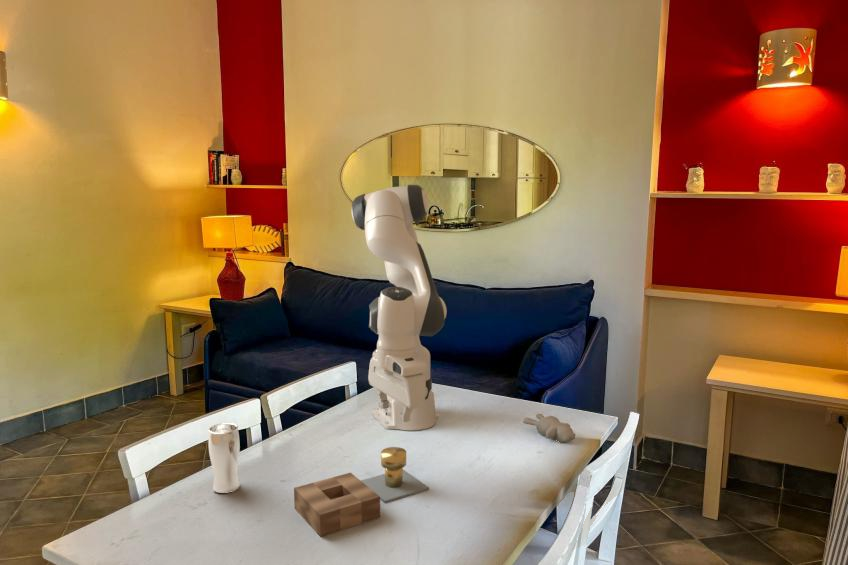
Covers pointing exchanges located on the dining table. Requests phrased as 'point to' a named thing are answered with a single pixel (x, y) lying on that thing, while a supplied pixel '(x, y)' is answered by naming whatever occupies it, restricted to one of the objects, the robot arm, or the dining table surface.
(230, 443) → the beer glass
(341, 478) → the walnut block
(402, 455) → the brass knob
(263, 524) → the dining table surface
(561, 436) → the bunny figurine
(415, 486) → the rubber mat
